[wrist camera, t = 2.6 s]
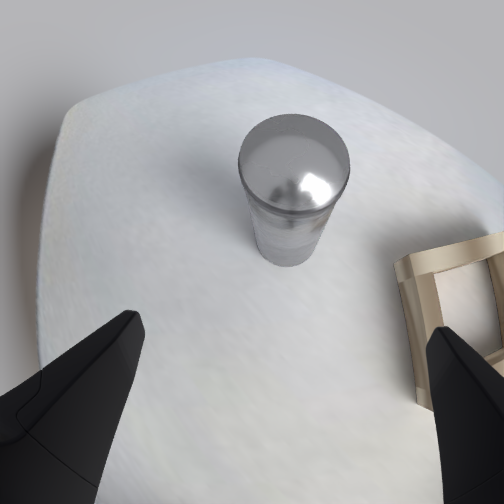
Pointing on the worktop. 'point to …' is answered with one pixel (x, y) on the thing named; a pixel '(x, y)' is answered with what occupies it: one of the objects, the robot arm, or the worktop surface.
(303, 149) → the silver metal canister
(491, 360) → the collar
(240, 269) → the worktop surface
